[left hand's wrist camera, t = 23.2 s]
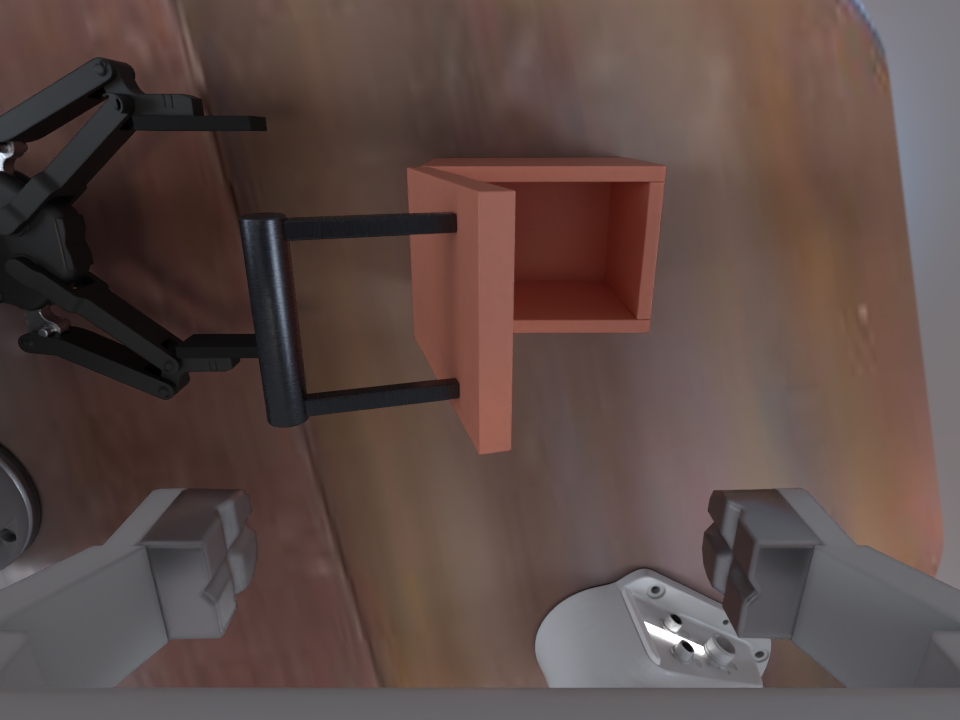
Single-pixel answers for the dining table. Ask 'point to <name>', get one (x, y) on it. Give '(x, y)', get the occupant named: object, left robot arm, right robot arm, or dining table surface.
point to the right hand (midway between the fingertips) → (273, 241)
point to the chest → (578, 239)
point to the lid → (436, 303)
